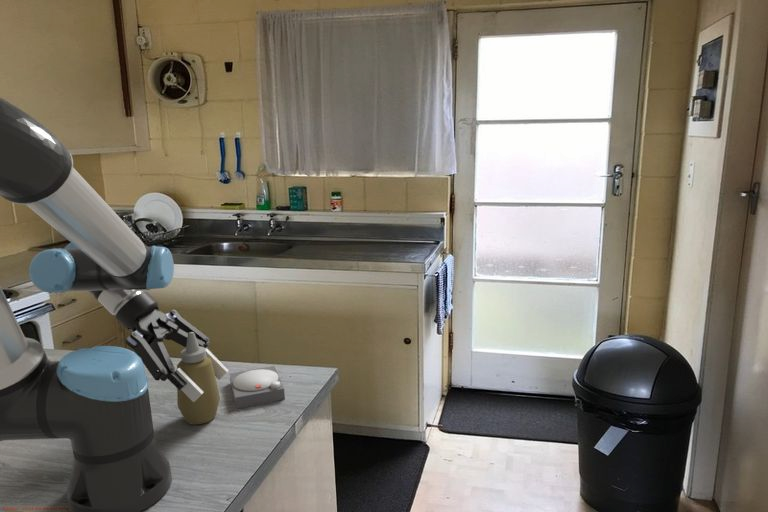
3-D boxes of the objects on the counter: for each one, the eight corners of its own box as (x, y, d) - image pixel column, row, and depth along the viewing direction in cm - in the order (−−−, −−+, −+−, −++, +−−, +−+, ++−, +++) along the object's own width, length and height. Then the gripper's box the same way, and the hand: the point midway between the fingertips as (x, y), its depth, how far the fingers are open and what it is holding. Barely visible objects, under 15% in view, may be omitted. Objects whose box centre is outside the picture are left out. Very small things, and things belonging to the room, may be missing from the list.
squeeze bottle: (228, 408, 116) (220, 326, 112) (210, 430, 108) (200, 342, 104) (192, 406, 118) (182, 324, 113) (171, 427, 110) (160, 340, 105)
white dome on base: (284, 399, 119) (283, 385, 119) (236, 408, 116) (234, 394, 115) (275, 375, 130) (274, 362, 130) (230, 383, 127) (229, 370, 126)
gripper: (153, 298, 122) (228, 373, 122) (79, 336, 102) (168, 425, 102) (172, 275, 119) (248, 352, 119) (100, 309, 99) (191, 401, 99)
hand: (211, 385), depth 110 cm, fingers open, 9 cm apart
